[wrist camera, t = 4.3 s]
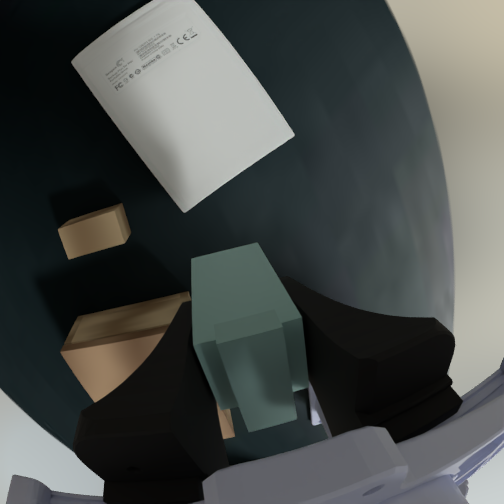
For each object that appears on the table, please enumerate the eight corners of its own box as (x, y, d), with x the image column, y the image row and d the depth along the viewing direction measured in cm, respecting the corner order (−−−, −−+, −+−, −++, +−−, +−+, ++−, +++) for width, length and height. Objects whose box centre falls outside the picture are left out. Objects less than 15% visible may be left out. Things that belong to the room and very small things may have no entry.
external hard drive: (184, 208, 19) (77, 66, 14) (288, 134, 18) (182, -7, 13) (183, 214, 17) (68, 61, 12) (296, 135, 17) (181, -18, 12)
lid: (188, 320, 17) (189, 349, 15) (233, 430, 22) (238, 455, 19) (63, 345, 16) (51, 372, 14) (135, 444, 21) (134, 468, 18)
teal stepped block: (255, 231, 13) (310, 318, 7) (269, 307, 15) (317, 412, 9) (188, 248, 13) (187, 350, 7) (210, 322, 14) (227, 436, 8)
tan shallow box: (159, 192, 18) (152, 204, 14) (228, 399, 25) (233, 428, 22) (41, 230, 17) (18, 247, 14) (138, 415, 24) (136, 442, 21)
